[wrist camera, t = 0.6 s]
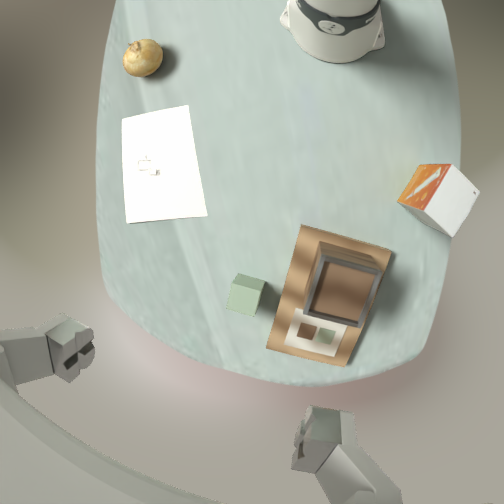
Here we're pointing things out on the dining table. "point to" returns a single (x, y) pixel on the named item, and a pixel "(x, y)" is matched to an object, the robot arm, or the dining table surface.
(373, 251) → the oak base board
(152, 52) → the onion
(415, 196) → the small box
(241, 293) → the sage block
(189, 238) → the dining table surface
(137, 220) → the paper sheet
